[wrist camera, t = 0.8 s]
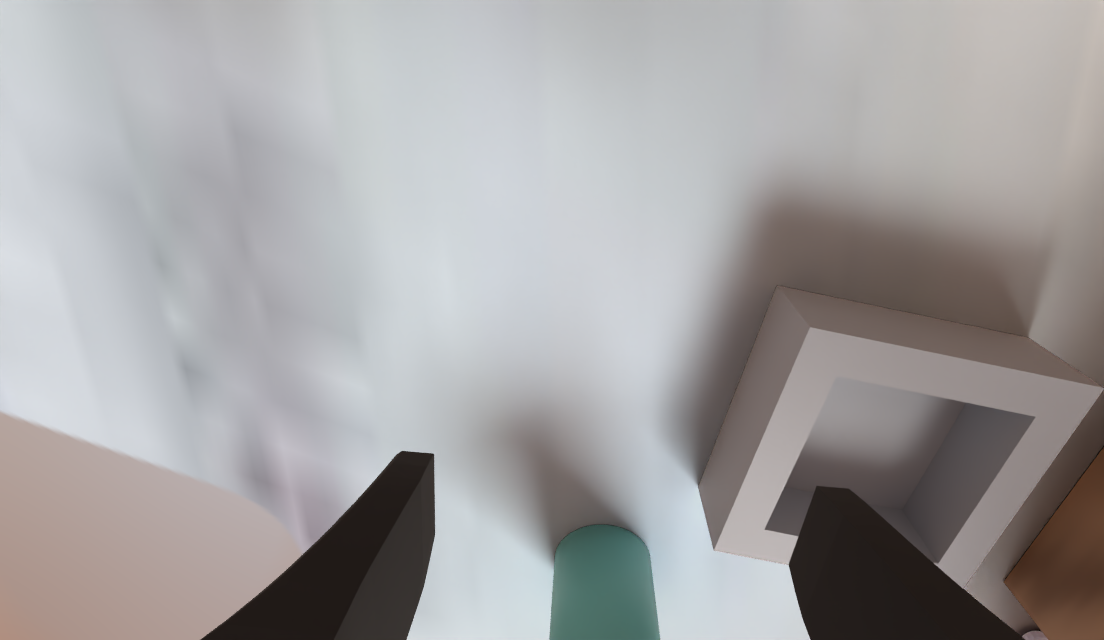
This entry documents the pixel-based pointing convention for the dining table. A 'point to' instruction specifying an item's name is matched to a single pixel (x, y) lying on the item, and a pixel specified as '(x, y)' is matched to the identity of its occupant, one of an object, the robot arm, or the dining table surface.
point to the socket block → (887, 428)
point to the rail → (1067, 565)
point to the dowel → (603, 587)
